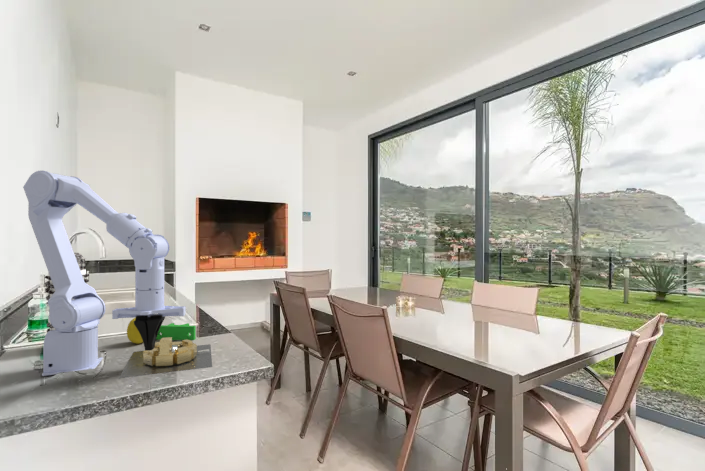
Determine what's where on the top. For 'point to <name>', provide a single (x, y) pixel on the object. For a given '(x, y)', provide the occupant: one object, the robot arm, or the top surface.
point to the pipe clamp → (177, 332)
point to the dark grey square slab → (139, 368)
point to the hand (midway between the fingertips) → (149, 349)
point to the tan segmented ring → (170, 352)
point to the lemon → (133, 333)
